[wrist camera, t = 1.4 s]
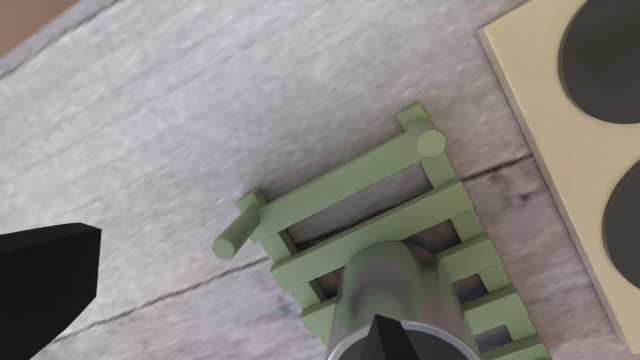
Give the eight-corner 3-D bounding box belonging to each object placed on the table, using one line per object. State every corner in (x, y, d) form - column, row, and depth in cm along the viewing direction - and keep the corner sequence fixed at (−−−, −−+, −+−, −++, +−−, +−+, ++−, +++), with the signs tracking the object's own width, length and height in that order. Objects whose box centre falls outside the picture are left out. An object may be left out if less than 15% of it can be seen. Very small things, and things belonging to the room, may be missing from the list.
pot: (473, 317, 18) (521, 432, 12) (370, 355, 19) (369, 475, 13) (421, 221, 17) (446, 295, 11) (318, 268, 18) (292, 356, 12)
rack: (546, 353, 19) (602, 443, 15) (373, 409, 22) (373, 501, 17) (418, 101, 17) (435, 109, 12) (241, 197, 20) (198, 234, 15)
